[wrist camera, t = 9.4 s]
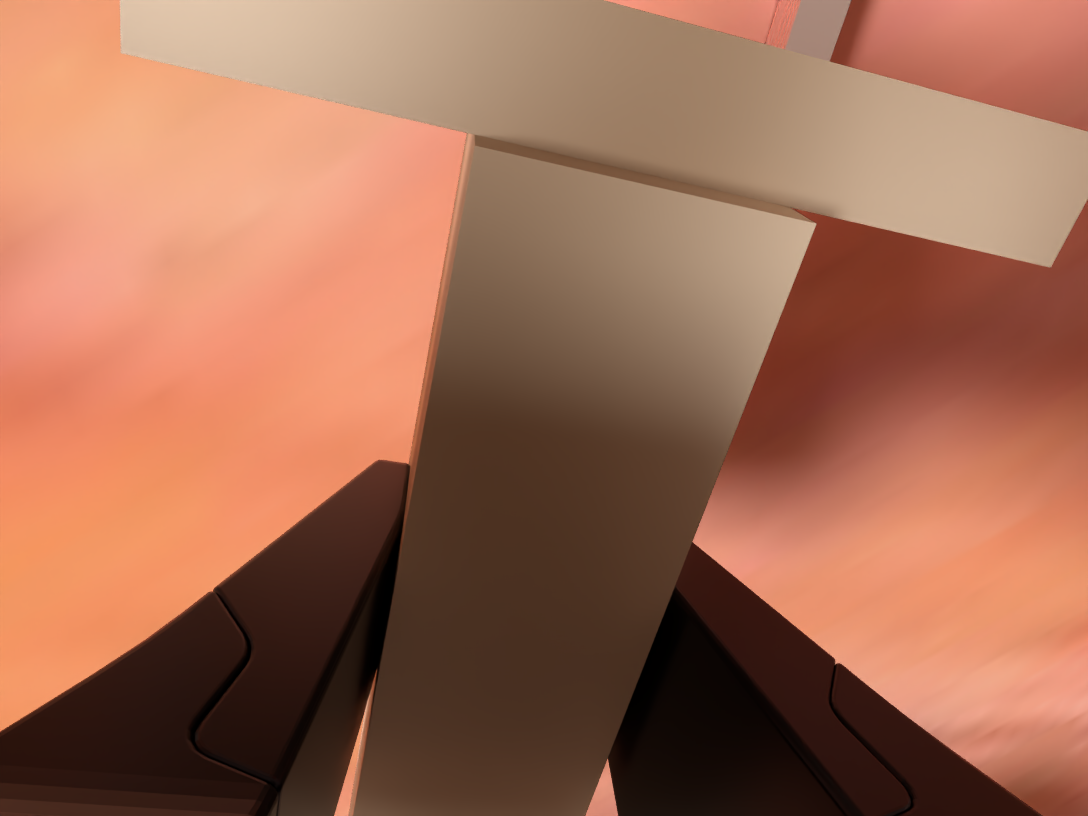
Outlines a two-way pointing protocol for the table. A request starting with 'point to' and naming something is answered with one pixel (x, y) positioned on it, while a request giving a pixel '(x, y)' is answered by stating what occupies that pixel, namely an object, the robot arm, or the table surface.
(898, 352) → the table surface
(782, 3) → the bay
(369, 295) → the table surface
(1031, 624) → the table surface
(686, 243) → the pusher
